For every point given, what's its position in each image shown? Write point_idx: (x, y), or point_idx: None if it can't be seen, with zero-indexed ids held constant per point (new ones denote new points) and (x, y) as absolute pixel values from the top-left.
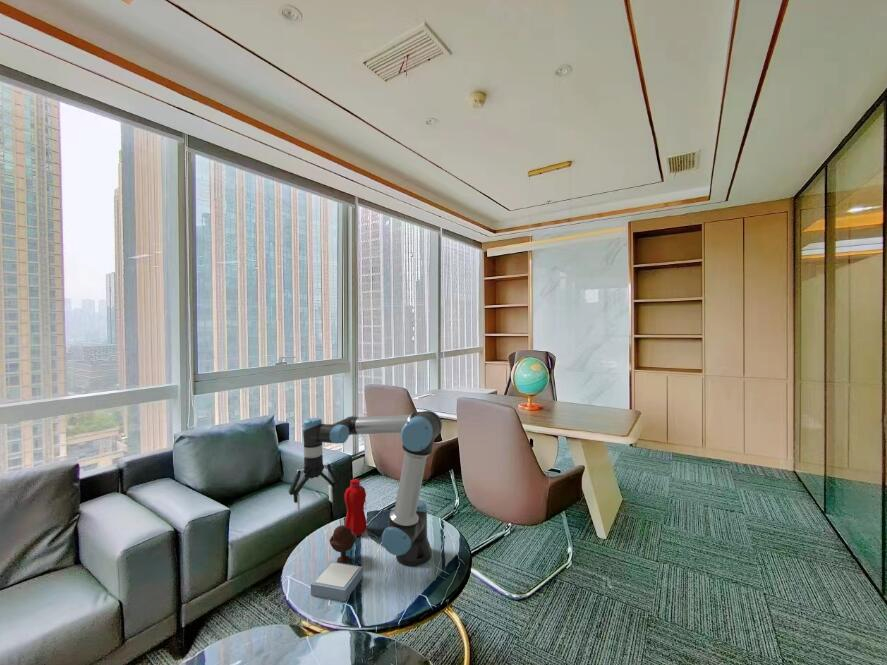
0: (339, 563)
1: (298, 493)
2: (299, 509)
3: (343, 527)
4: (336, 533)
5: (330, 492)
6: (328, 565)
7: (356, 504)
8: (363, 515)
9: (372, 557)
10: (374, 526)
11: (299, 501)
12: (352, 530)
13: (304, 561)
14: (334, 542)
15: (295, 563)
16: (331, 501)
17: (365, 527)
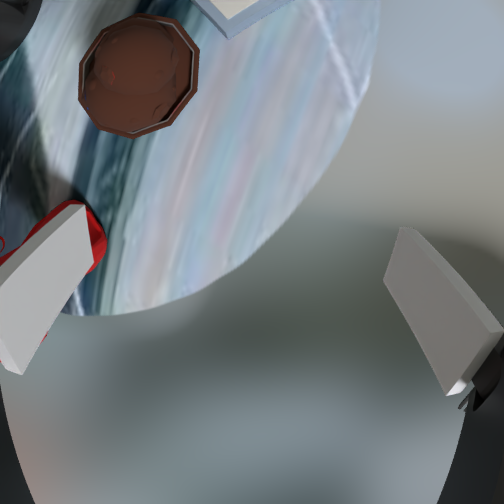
0: (203, 3)
1: (463, 373)
2: (408, 231)
3: (111, 46)
4: (163, 40)
5: (30, 261)
6: (244, 15)
7: (9, 257)
8: (25, 240)
9: (81, 47)
10: (28, 224)
11: (448, 275)
12: None
13: (285, 159)
14: (181, 66)
15: (314, 169)
16: (77, 206)
17: (45, 217)
